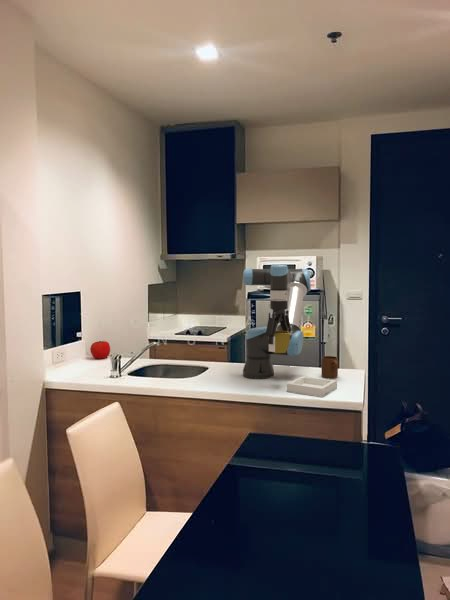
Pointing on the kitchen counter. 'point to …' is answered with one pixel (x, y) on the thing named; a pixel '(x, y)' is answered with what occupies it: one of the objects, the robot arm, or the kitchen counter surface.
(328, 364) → the mug
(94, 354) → the tomato
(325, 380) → the white square tray
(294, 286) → the robot arm
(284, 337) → the flower pot
